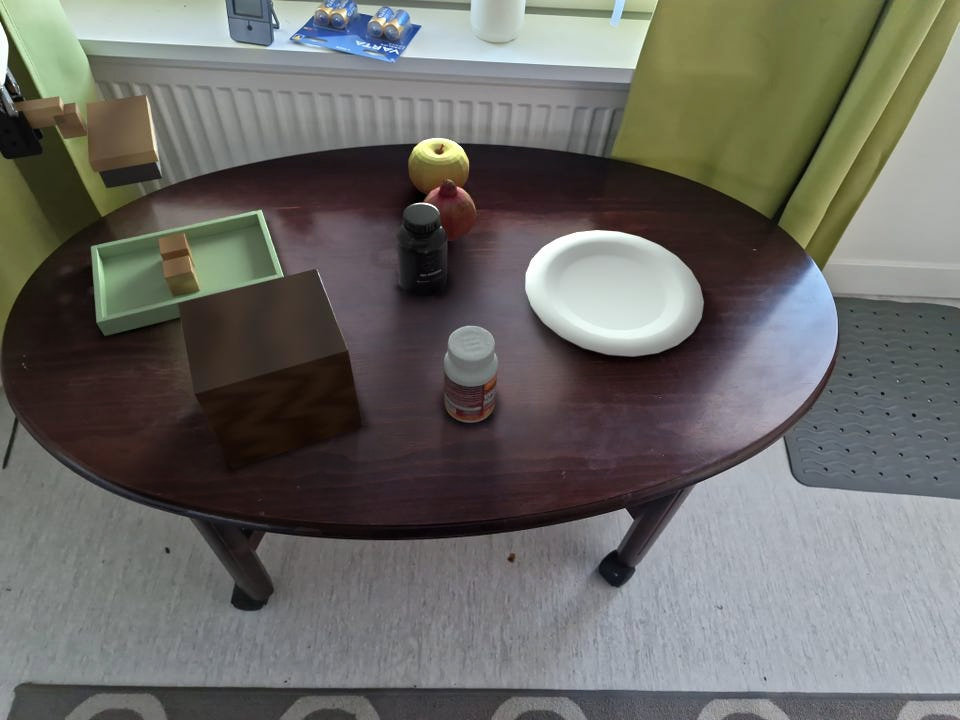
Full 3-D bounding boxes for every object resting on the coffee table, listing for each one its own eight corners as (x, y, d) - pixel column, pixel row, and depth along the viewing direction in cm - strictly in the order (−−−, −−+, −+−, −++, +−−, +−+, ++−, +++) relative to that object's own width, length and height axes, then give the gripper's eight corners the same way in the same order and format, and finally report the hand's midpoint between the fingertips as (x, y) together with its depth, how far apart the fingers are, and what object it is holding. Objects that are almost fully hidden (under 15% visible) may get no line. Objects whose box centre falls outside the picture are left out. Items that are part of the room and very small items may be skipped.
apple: (480, 184, 107) (482, 141, 101) (446, 214, 102) (446, 170, 96) (432, 163, 111) (431, 120, 104) (397, 191, 105) (393, 148, 99)
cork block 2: (173, 297, 88) (164, 278, 85) (170, 280, 90) (161, 261, 87) (200, 290, 89) (192, 271, 86) (196, 274, 91) (188, 255, 88)
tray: (104, 336, 84) (96, 322, 82) (98, 260, 93) (90, 246, 90) (287, 290, 90) (283, 276, 88) (264, 223, 99) (261, 209, 97)
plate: (514, 239, 99) (515, 230, 97) (674, 236, 101) (677, 227, 99) (535, 366, 83) (537, 358, 82) (724, 360, 85) (728, 352, 84)
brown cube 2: (169, 273, 90) (160, 254, 88) (166, 257, 92) (157, 238, 90) (195, 267, 91) (187, 248, 89) (191, 251, 93) (184, 232, 91)
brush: (157, 123, 68) (134, 63, 63) (166, 179, 62) (141, 118, 57) (-10, 149, 64) (-49, 87, 59) (-18, 213, 58) (-62, 149, 53)
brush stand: (232, 468, 72) (194, 394, 61) (214, 382, 80) (177, 302, 69) (362, 426, 76) (348, 350, 65) (333, 348, 84) (316, 268, 73)
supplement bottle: (430, 306, 89) (428, 238, 80) (389, 287, 91) (383, 219, 82) (456, 277, 93) (457, 209, 84) (416, 259, 95) (413, 191, 86)
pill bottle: (493, 426, 77) (498, 367, 68) (441, 422, 77) (440, 362, 68) (496, 385, 81) (501, 324, 72) (447, 381, 81) (446, 319, 72)
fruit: (424, 255, 96) (422, 200, 88) (420, 221, 101) (418, 165, 93) (478, 252, 96) (480, 197, 89) (471, 218, 102) (473, 163, 94)
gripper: (-147, -113, 50) (-15, 111, 64) (-195, -36, 40) (-28, 205, 55) (-36, -120, 51) (69, 99, 66) (-57, -48, 42) (70, 188, 57)
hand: (24, 146), depth 60 cm, fingers closed on brush
